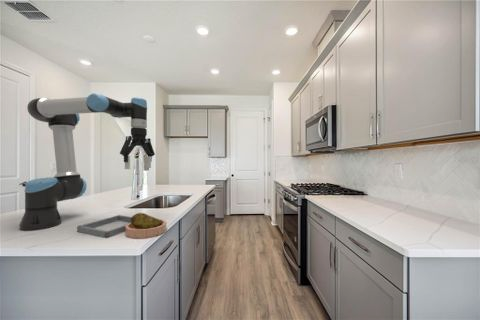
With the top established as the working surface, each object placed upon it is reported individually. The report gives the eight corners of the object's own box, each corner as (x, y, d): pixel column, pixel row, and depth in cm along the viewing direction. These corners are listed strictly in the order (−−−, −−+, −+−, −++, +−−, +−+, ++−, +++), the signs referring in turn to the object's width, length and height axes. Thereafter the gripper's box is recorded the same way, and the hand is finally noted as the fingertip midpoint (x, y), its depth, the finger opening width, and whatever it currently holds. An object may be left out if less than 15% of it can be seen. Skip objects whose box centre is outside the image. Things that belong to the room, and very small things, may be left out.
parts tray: (77, 231, 97) (77, 226, 97) (119, 219, 117) (119, 215, 117) (106, 238, 90) (106, 232, 90) (145, 223, 110) (145, 219, 110)
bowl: (116, 235, 93) (116, 226, 93) (146, 224, 109) (146, 217, 109) (146, 240, 87) (146, 232, 87) (173, 228, 103) (173, 221, 103)
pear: (154, 234, 93) (154, 216, 93) (127, 232, 94) (127, 215, 94) (163, 228, 101) (163, 211, 101) (138, 227, 103) (138, 210, 103)
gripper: (123, 124, 97) (122, 169, 98) (161, 130, 121) (161, 167, 121) (111, 124, 100) (111, 169, 100) (151, 131, 123) (151, 167, 124)
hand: (138, 168), depth 111 cm, fingers open, 13 cm apart
